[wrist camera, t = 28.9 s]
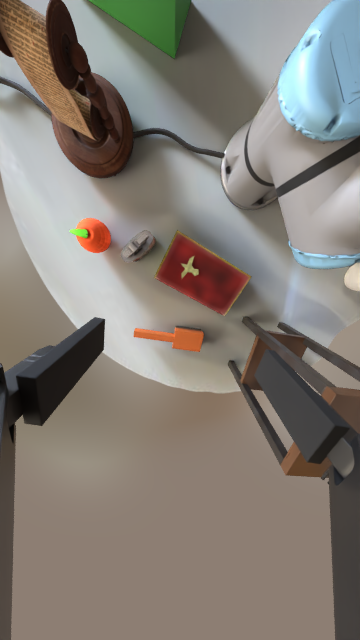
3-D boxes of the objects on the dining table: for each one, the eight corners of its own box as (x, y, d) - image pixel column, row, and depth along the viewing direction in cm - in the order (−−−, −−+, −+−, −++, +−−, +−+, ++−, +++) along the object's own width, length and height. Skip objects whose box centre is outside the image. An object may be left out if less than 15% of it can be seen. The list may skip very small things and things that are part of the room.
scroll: (54, 160, 35) (-78, 51, 17) (67, 66, 31) (-97, -231, 12) (123, 193, 38) (76, 132, 19) (144, 111, 33) (109, -75, 15)
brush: (135, 336, 50) (133, 343, 47) (137, 319, 48) (134, 324, 45) (197, 345, 52) (199, 351, 48) (201, 328, 50) (204, 334, 47)
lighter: (135, 264, 43) (125, 267, 34) (126, 254, 42) (113, 253, 33) (159, 243, 42) (155, 238, 32) (149, 231, 41) (143, 223, 31)
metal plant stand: (227, 364, 55) (293, 491, 25) (243, 316, 50) (352, 407, 20) (264, 369, 57) (368, 495, 27) (283, 322, 51) (444, 416, 21)
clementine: (81, 249, 41) (63, 248, 35) (80, 217, 39) (61, 209, 32) (114, 255, 42) (103, 255, 36) (115, 224, 40) (104, 218, 33)
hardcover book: (220, 312, 49) (224, 317, 45) (155, 276, 44) (153, 278, 40) (245, 275, 45) (252, 276, 41) (176, 232, 41) (177, 229, 37)
